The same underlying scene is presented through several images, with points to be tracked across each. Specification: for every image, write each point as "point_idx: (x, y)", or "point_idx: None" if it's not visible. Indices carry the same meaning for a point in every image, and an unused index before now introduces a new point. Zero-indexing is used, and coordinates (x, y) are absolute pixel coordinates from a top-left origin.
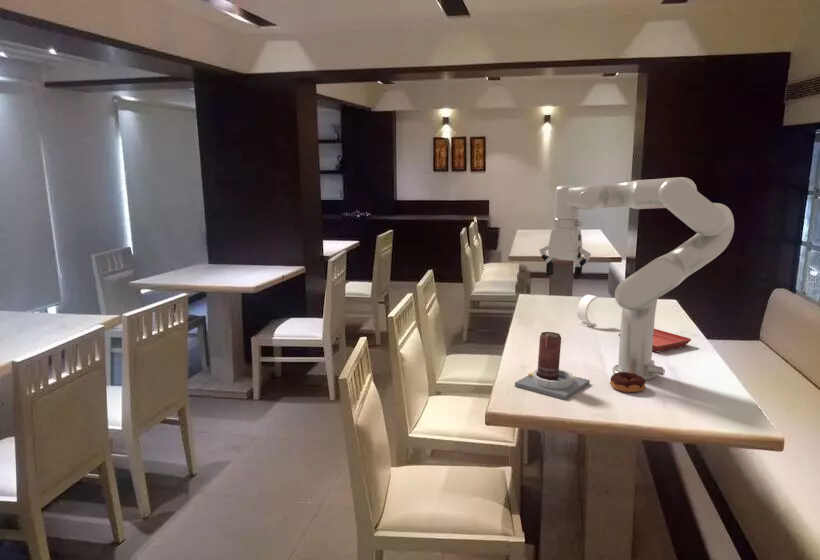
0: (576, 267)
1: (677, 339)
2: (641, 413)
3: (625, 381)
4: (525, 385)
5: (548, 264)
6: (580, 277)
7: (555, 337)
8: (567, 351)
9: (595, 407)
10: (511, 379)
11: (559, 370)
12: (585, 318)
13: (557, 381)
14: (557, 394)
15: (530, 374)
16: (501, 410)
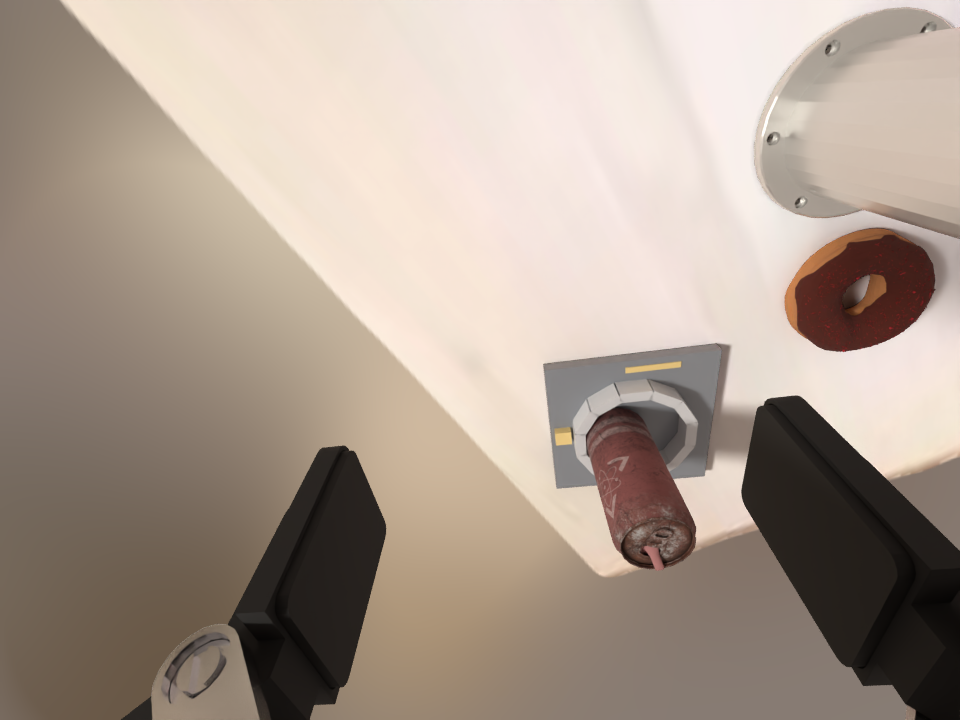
0: (880, 674)
1: None
2: (905, 418)
3: (867, 346)
4: (588, 485)
5: (336, 694)
6: (797, 397)
7: (687, 552)
8: (465, 64)
9: None
10: (518, 455)
11: (633, 401)
12: None
13: (671, 467)
14: (681, 476)
15: (563, 444)
16: (612, 567)
